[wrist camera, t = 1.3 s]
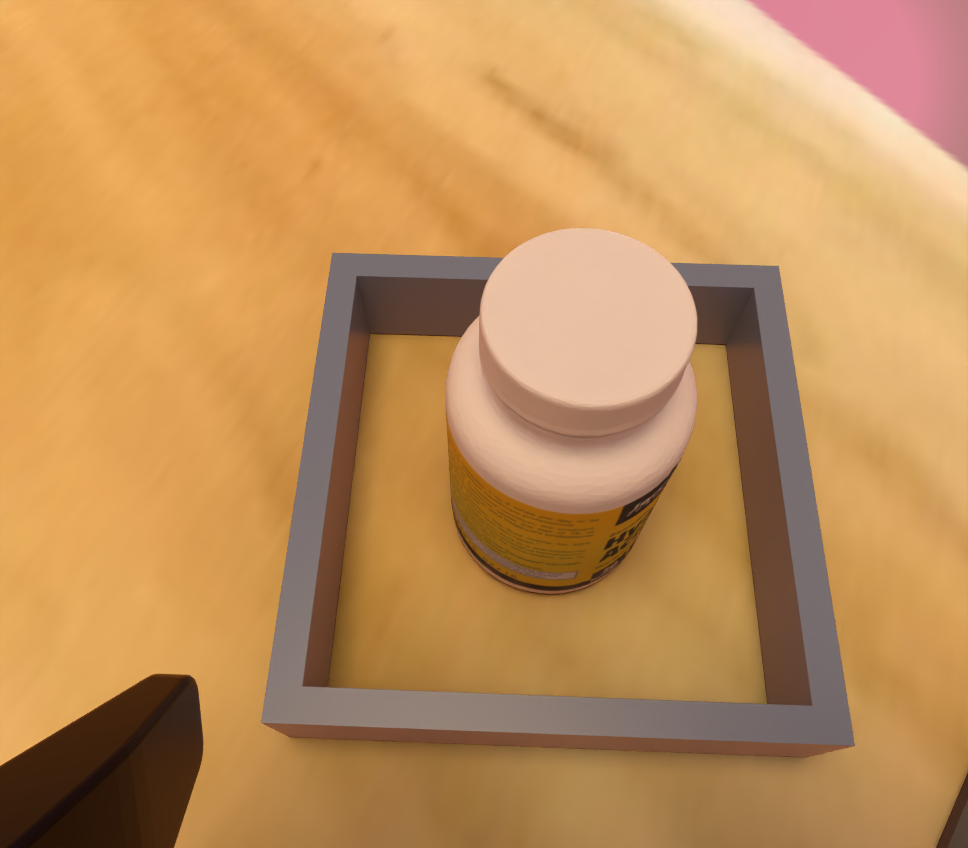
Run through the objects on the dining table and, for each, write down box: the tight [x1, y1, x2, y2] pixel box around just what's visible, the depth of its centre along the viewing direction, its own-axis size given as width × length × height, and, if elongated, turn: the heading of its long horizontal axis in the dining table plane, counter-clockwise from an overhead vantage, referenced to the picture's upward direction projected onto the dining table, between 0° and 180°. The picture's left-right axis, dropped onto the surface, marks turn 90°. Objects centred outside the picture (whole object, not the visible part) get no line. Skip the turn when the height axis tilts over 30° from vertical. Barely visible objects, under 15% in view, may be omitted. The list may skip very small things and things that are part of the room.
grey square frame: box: [261, 253, 855, 757], centre depth 22 cm, size 13×13×3 cm
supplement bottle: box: [446, 228, 697, 594], centre depth 19 cm, size 5×5×10 cm
